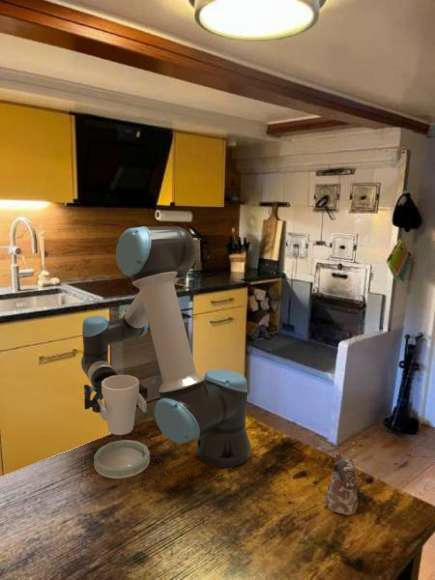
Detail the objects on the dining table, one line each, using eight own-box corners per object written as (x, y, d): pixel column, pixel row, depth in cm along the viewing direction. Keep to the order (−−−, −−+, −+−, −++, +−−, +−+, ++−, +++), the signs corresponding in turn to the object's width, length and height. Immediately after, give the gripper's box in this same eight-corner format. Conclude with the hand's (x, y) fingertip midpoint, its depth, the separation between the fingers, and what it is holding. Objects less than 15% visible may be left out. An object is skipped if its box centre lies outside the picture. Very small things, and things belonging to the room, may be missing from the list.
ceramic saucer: (160, 459, 116) (160, 452, 116) (119, 486, 105) (119, 478, 104) (124, 440, 124) (124, 434, 124) (82, 463, 113) (82, 456, 113)
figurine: (339, 518, 96) (343, 470, 94) (319, 498, 102) (323, 453, 100) (363, 509, 99) (368, 462, 97) (342, 491, 105) (346, 446, 103)
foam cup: (130, 440, 107) (130, 392, 105) (95, 435, 109) (94, 387, 107) (144, 422, 117) (144, 377, 114) (112, 417, 118) (111, 373, 116)
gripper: (139, 383, 133) (166, 416, 114) (64, 396, 122) (80, 434, 103) (139, 360, 131) (167, 389, 112) (63, 371, 121) (79, 405, 102)
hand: (125, 411), depth 108 cm, fingers closed on foam cup, 9 cm apart
